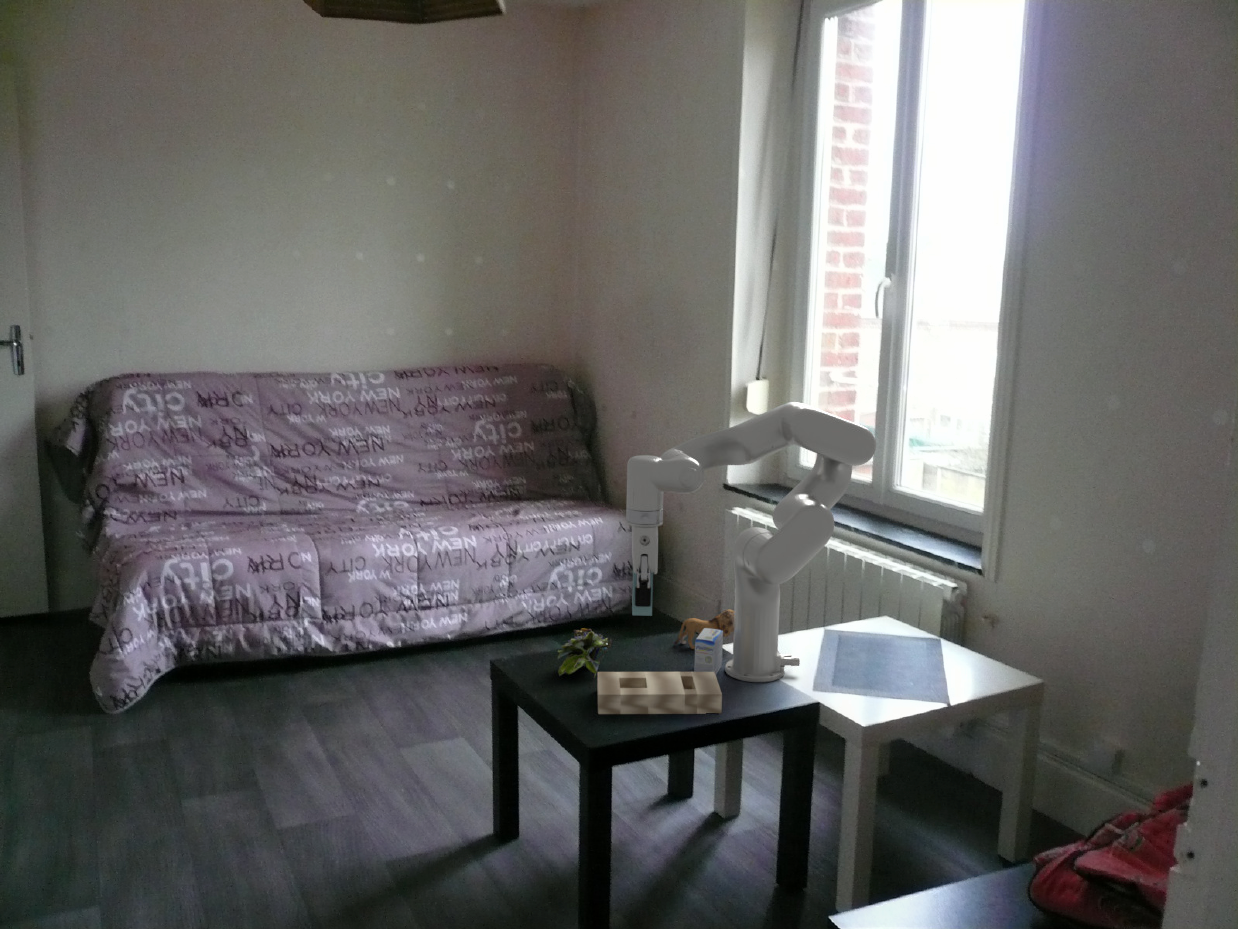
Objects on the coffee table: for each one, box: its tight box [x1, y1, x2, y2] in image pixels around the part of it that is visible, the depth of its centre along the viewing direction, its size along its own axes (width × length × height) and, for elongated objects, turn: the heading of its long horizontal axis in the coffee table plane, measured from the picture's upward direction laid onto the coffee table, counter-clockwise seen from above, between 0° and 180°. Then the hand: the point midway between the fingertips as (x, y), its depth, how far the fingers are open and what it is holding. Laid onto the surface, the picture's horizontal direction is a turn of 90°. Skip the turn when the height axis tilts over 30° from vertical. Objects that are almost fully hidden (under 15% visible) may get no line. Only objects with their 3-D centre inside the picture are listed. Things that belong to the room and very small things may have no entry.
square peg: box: [631, 567, 654, 617], centre depth 222 cm, size 4×4×10 cm
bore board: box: [596, 671, 723, 715], centre depth 214 cm, size 24×12×4 cm, turn 92°
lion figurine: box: [672, 609, 734, 651], centre depth 246 cm, size 15×5×9 cm, turn 89°
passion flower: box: [557, 627, 613, 679], centre depth 229 cm, size 11×11×12 cm
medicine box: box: [693, 628, 724, 676], centre depth 230 cm, size 8×4×9 cm, turn 162°
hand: (642, 601), depth 222 cm, fingers closed on square peg, 4 cm apart
